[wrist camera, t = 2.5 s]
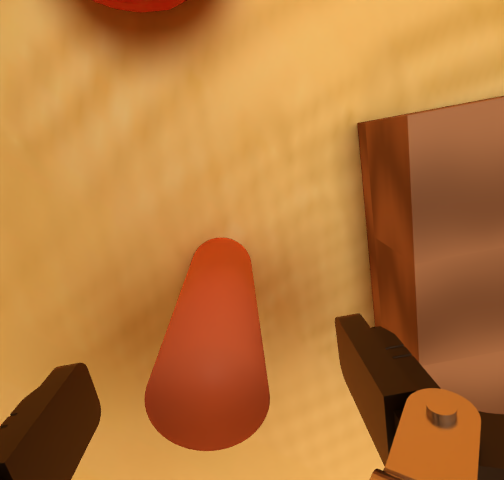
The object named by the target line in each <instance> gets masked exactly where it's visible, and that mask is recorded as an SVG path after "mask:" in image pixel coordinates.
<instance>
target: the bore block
mask: <svg viewBox="0 0 504 480" xmlns="http://www.w3.org/2000/svg"><path fill="white" fill-rule="evenodd" d="M358 133H359V145H360V156H361V168H362V179H363V191H364V202H365V214H366V225H367V237H368V248H369V260H370V271H371V283H372V294H373V306H374V317H375V327H378V326H381V327H383V328H385V329H387V330H388V331H390V332H392V333H394V334H395V335H396V336H397V337H398V338H399V340H400V341H401V342H402V343H403V344H404V347H406V348H407V349H408V350H409V351H410V353H411V355H412V356H414V357H415V358H416V360H417V361H418V362H419V363H420V364H421V366H422V367H423V368H424V369H425V370H426V371H427V373H428V374H429V375H430V376H431V377H432V379H433V380H434V381H435V382H436V383H437V385H438V386H439V387H440V388H441V389H444V390H448V391H451V392H454V393H456V394H458V395H460V396H462V397H464V398H465V399H467V400H468V401H469V402H471V403H472V404H473V405H474V406H475V408H476V409H477V410H478V411H481V412H486V413H494V414H504V96H500V97H495V98H490V99H484V100H479V101H474V102H468V103H463V104H458V105H452V106H447V107H442V108H436V109H431V110H426V111H420V112H415V113H410V114H404V115H399V116H393V117H388V118H383V119H377V120H372V121H367V122H361V123H358Z"/></svg>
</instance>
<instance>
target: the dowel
mask: <svg viewBox="0 0 504 480" xmlns="http://www.w3.org/2000/svg"><path fill="white" fill-rule="evenodd" d="M269 404H270V395H269V387H268V380H267V373H266V366H265V358H264V351H263V344H262V337H261V330H260V323H259V316H258V309H257V302H256V294H255V287H254V280H253V273H252V266H251V260H250V257H249V254H248V252H247V251H246V249H245V248H244V247H243V246H242V245H241V244H239V243H238V242H236V241H234V240H232V239H228V238H214V239H211V240H208V241H206V242H205V243H203V244H202V245H201V246H200V247H199V248H198V249H197V250H196V252H195V254H194V256H193V259H192V261H191V264H190V267H189V270H188V272H187V275H186V278H185V281H184V284H183V286H182V289H181V292H180V295H179V298H178V300H177V303H176V306H175V309H174V312H173V314H172V317H171V320H170V323H169V326H168V328H167V331H166V334H165V337H164V339H163V342H162V345H161V348H160V351H159V353H158V356H157V359H156V362H155V365H154V367H153V370H152V373H151V376H150V379H149V381H148V384H147V387H146V392H145V407H146V412H147V415H148V417H149V419H150V421H151V423H152V424H153V426H154V427H155V428H156V430H157V431H158V432H159V433H160V434H161V435H162V436H164V437H165V438H166V439H168V440H169V441H171V442H173V443H175V444H177V445H179V446H182V447H185V448H188V449H193V450H200V451H214V450H221V449H225V448H229V447H232V446H234V445H237V444H239V443H241V442H243V441H244V440H246V439H247V438H249V437H250V436H251V435H252V434H254V433H255V432H256V431H257V429H258V428H259V427H260V426H261V424H262V423H263V421H264V419H265V417H266V415H267V412H268V409H269Z"/></svg>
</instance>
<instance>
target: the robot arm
mask: <svg viewBox="0 0 504 480" xmlns="http://www.w3.org/2000/svg"><path fill="white" fill-rule="evenodd" d="M335 327H336V335H337V343H338V351H339V359H340V365H341V369H342V373H343V376H344V379H345V382H346V384H347V386H348V388H349V390H350V392H351V395H352V397H353V399H354V401H355V403H356V405H357V408H358V410H359V412H360V414H361V416H362V418H363V421H364V423H365V425H366V427H367V429H368V431H369V434H370V436H371V438H372V440H373V442H374V444H375V447H376V449H377V451H378V453H379V455H380V457H381V460H382V462H383V464H384V466H385V468H384V470H383V471H382V470H380V469H375V470H374V472H373V473H372V475H371V477H370V480H504V414H494V413H486V412H481V411H478V410H477V409H476V408H475V406H474V405H473V404H472V403H471V402H469V401H468V400H467V399H465V398H464V397H462V396H460V395H458V394H456V393H454V392H451V391H448V390H444V389H441V388H440V387H439V386H438V385H437V383H436V382H435V381H434V380H433V379H432V377H431V376H430V375H429V374H428V373H427V371H426V370H425V369H424V368H423V367H422V366H421V364H420V363H419V362H418V361H417V360H416V358H415V357H414V356H412V355H411V353H410V351H409V350H408V349H407V348H406V347H404V344H403V343H402V342H401V341H400V340H399V338H398V337H397V336H396V335H395V334H394V333H392V332H390V331H388V330H387V329H385V328H383V327H381V326H378V327H373V328H370V327H369V325H368V324H367V323H366V321H365V320H364V318H363V317H362V316H361V315H360V314H359V313H358V314H352V315H347V316H341V317H336V318H335ZM100 416H101V406H100V402H99V399H98V396H97V393H96V390H95V388H94V385H93V382H92V379H91V376H90V374H89V371H88V368H87V366H86V365H85V364H84V363H76V364H70V365H65V366H59V367H56V368H55V369H54V370H53V371H52V372H51V373H50V375H49V376H48V377H47V378H46V379H45V381H44V382H43V383H42V384H41V385H40V387H38V388H37V389H36V390H34V391H33V392H32V393H31V394H29V395H28V396H27V397H25V398H24V399H23V400H22V401H21V402H20V403H19V405H18V406H17V407H16V408H15V409H14V410H13V412H12V413H11V416H10V417H7V419H6V420H5V421H4V422H3V423H2V425H1V426H0V480H71V478H72V476H73V474H74V472H75V470H76V468H77V466H78V464H79V462H80V460H81V458H82V456H83V454H84V452H85V450H86V448H87V446H88V444H89V442H90V440H91V438H92V436H93V434H94V432H95V430H96V428H97V426H98V424H99V421H100Z"/></svg>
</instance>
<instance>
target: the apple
mask: <svg viewBox="0 0 504 480" xmlns="http://www.w3.org/2000/svg"><path fill="white" fill-rule="evenodd" d="M92 1H94V2H97V3H100V4H103V5H106V6H108V7H111V8H114V9H119V10H126V11H133V12H150V11H162V10H170V9H172V8H174V7H176V6H177V5H179V4H181V3H183V2H185V1H187V0H92Z"/></svg>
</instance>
